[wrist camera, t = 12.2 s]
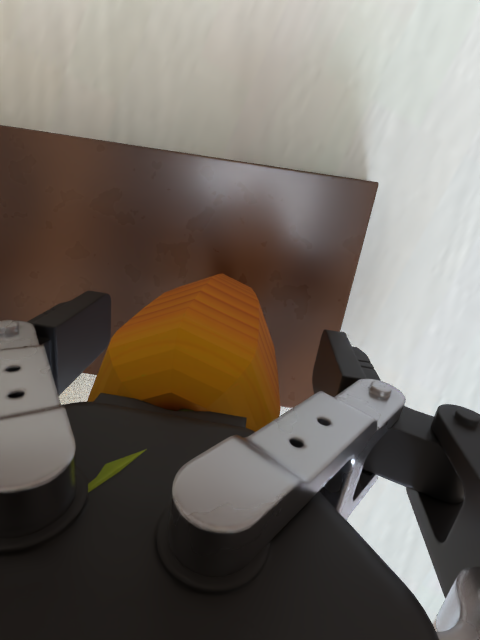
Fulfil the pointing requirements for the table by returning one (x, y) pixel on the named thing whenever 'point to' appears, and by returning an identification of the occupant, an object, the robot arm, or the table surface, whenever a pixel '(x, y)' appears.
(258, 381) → the carrot
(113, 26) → the table surface
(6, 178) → the cutting board
